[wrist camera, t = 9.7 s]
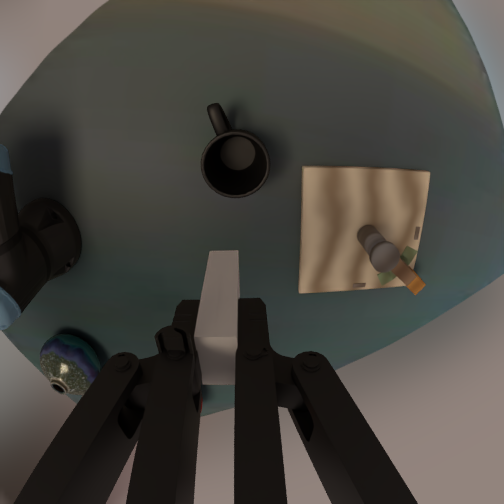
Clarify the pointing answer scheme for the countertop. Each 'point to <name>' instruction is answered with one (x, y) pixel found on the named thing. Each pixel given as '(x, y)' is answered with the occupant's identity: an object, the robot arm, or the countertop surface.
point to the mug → (233, 158)
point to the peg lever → (387, 257)
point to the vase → (69, 364)
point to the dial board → (357, 223)
